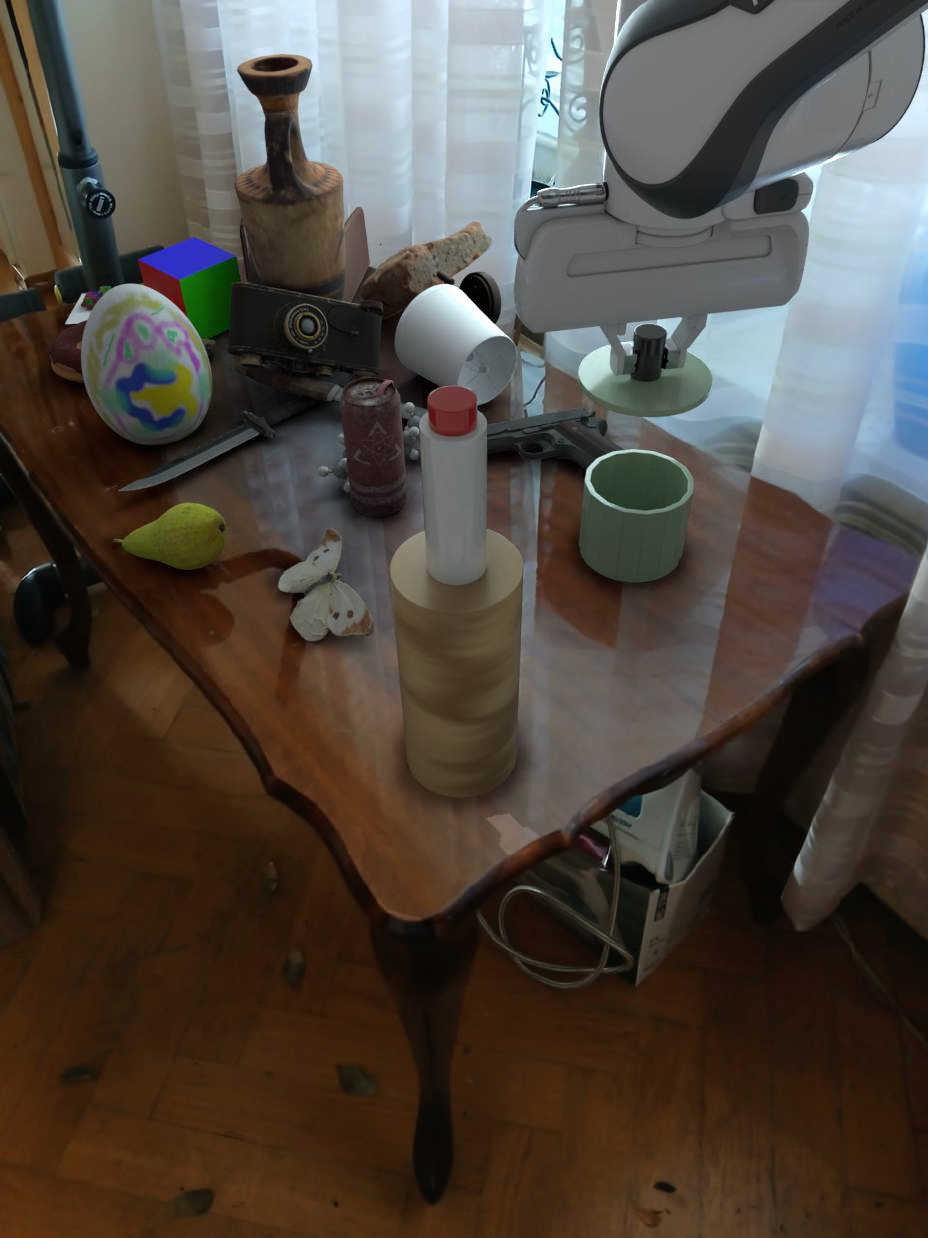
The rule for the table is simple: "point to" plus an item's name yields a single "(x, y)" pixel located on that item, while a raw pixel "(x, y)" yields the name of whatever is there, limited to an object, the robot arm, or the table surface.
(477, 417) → the spice bottle
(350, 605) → the butterfly
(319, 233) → the vase
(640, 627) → the table surface
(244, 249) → the letter holder
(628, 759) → the table surface
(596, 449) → the handgun
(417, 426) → the molecular model
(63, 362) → the donut
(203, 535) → the fruit
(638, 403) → the pot lid
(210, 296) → the cube
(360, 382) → the can
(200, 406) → the decorative egg
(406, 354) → the light fixture
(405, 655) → the pedestal
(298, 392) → the knife
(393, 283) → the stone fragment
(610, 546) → the pot
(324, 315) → the camera
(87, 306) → the thin white sheet
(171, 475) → the knife
